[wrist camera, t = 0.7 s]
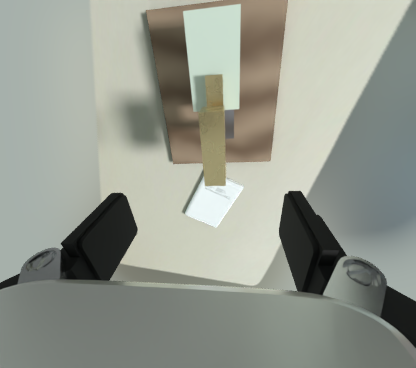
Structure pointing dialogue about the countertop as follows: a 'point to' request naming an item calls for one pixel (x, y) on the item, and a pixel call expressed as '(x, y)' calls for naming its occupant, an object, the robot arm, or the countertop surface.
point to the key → (213, 132)
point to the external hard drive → (213, 201)
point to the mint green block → (214, 52)
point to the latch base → (249, 80)
